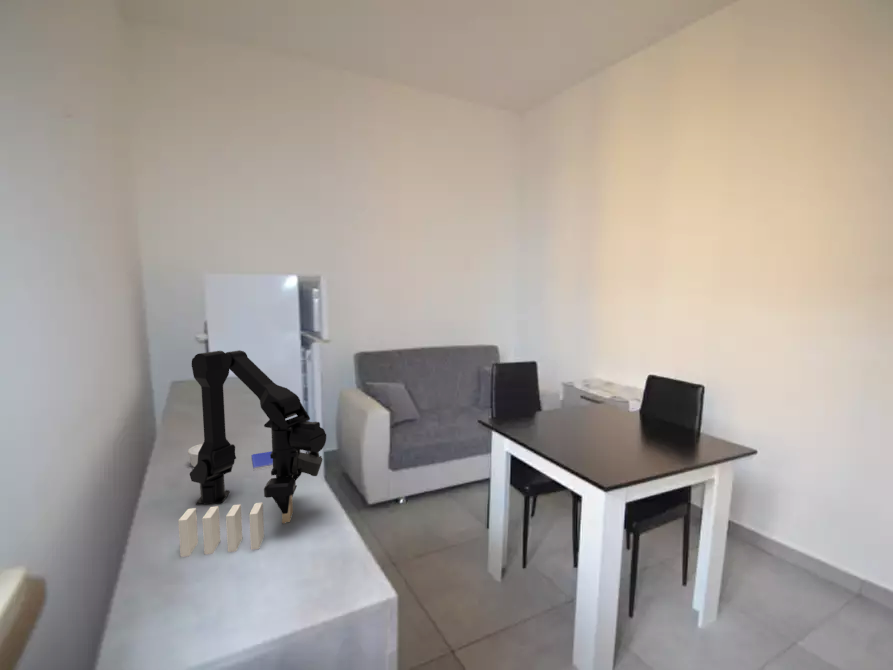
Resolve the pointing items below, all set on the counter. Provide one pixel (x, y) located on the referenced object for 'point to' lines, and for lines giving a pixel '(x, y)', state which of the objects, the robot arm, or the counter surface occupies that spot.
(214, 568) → the counter surface
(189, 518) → the domino
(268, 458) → the hard drive
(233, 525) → the domino
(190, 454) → the ramekin
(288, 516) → the maple domino
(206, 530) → the domino
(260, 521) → the domino
